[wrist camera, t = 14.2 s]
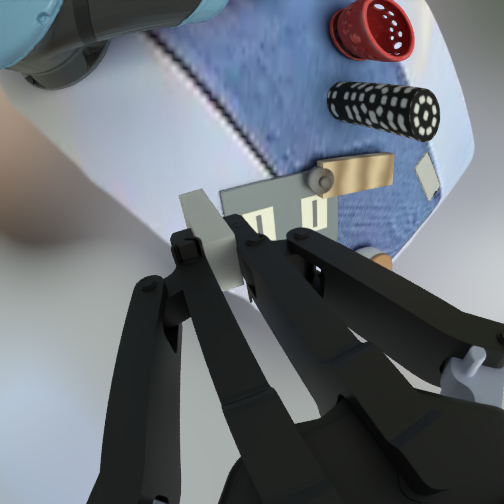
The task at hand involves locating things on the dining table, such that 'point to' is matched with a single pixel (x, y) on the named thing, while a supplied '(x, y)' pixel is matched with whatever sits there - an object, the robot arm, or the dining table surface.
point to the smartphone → (427, 176)
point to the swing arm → (350, 174)
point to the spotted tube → (386, 108)
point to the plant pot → (372, 31)
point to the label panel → (282, 206)
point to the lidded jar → (376, 256)
